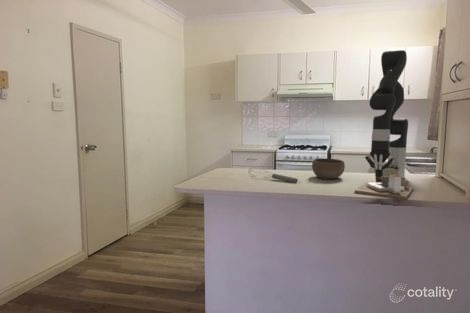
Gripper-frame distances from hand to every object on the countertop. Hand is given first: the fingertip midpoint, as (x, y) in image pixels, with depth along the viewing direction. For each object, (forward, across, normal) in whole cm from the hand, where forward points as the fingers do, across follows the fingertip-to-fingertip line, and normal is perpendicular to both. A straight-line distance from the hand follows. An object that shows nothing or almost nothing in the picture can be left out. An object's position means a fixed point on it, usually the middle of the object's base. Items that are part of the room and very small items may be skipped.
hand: (378, 177), depth 162 cm
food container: (+8, +6, -28) cm, 30 cm away
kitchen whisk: (+8, +57, +1) cm, 58 cm away
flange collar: (+6, -2, -7) cm, 10 cm away
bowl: (+8, +36, -23) cm, 44 cm away
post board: (+8, 0, -9) cm, 12 cm away
